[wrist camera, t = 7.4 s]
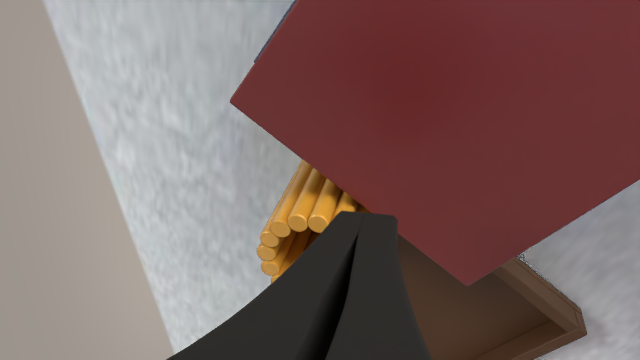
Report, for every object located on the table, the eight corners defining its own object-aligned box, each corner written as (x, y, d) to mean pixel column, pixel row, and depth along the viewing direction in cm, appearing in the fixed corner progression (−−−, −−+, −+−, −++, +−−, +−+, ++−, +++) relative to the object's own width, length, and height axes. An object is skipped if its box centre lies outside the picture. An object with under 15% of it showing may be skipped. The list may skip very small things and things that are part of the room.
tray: (581, 308, 23) (588, 335, 21) (431, 383, 28) (430, 407, 27) (424, 181, 21) (421, 202, 20) (299, 287, 27) (291, 308, 25)
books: (688, 31, 15) (795, 102, 11) (471, 196, 21) (475, 294, 16) (448, -209, 14) (442, -257, 9) (279, 38, 19) (217, 94, 14)
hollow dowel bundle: (283, 192, 14) (239, 272, 17) (402, 257, 14) (341, 326, 17) (333, 102, 20) (295, 172, 22) (418, 150, 20) (371, 213, 23)
